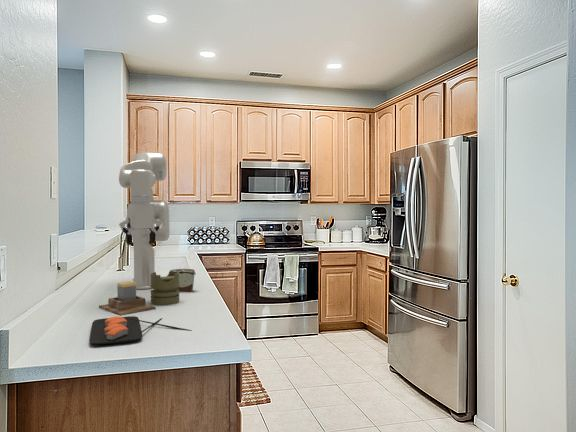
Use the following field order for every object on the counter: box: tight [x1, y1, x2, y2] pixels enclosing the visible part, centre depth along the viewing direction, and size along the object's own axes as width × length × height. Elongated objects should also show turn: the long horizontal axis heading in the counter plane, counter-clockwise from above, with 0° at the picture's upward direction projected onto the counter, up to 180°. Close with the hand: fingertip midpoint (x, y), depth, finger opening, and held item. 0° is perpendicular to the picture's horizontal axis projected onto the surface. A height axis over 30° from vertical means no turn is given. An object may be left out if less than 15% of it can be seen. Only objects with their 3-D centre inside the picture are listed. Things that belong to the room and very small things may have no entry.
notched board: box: [98, 295, 156, 316], centre depth 175 cm, size 18×14×4 cm
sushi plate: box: [89, 315, 193, 345], centre depth 145 cm, size 29×30×4 cm
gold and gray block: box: [117, 281, 137, 302], centre depth 175 cm, size 5×5×9 cm
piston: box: [150, 270, 180, 306], centre depth 186 cm, size 11×12×11 cm
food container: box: [169, 268, 196, 293], centre depth 210 cm, size 12×6×10 cm, turn 84°
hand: (141, 243), depth 181 cm, fingers open, 9 cm apart
